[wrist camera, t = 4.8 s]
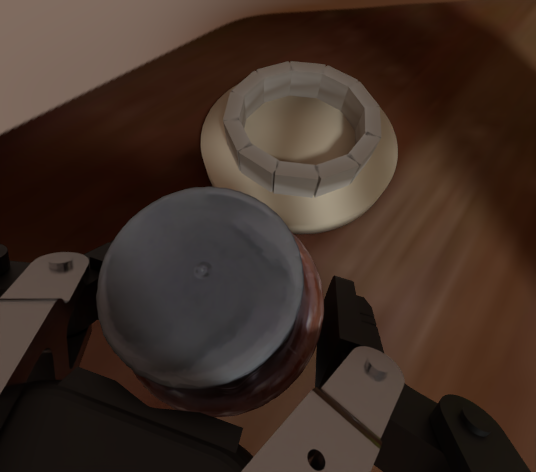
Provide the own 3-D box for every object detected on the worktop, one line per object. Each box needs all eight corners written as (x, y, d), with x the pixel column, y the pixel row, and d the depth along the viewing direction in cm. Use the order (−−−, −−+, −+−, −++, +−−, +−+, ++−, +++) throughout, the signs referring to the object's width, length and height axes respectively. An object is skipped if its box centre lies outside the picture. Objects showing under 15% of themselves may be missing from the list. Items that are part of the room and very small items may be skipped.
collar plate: (384, 96, 23) (403, 54, 20) (394, 246, 17) (423, 222, 14) (224, 79, 23) (217, 36, 20) (184, 220, 18) (167, 192, 15)
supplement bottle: (225, 257, 17) (166, 110, 7) (311, 300, 16) (400, 208, 6) (170, 347, 15) (-44, 341, 4) (265, 404, 14) (274, 562, 3)
